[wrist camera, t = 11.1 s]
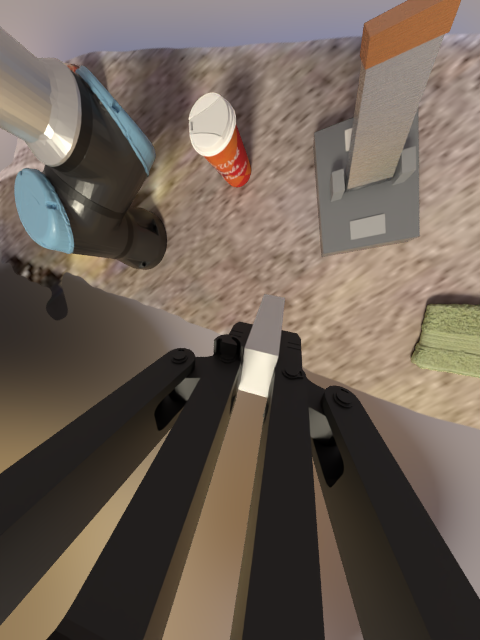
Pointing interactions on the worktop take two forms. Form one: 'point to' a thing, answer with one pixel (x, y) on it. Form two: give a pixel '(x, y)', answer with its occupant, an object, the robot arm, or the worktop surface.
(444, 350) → the washcloth
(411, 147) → the switch block
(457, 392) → the worktop surface
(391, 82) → the lever
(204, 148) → the paper cup
